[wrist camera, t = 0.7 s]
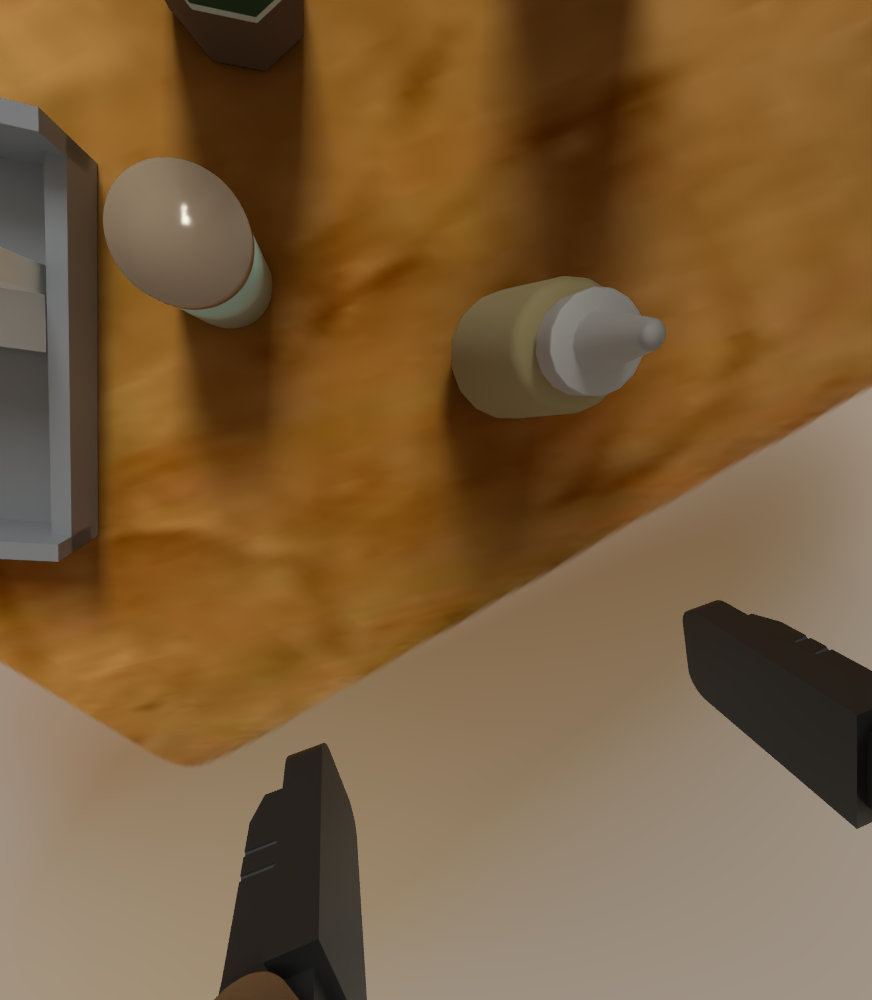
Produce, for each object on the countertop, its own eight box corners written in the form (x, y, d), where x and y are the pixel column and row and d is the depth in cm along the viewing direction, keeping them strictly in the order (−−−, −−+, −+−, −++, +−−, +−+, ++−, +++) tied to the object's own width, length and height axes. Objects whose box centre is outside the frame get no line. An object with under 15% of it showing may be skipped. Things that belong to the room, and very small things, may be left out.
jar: (175, 220, 29) (102, 140, 20) (277, 240, 31) (255, 175, 21) (172, 321, 30) (102, 293, 21) (271, 337, 32) (247, 317, 22)
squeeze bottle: (475, 437, 36) (608, 485, 19) (416, 339, 34) (508, 292, 17) (564, 376, 37) (773, 370, 19) (512, 275, 34) (699, 165, 17)
